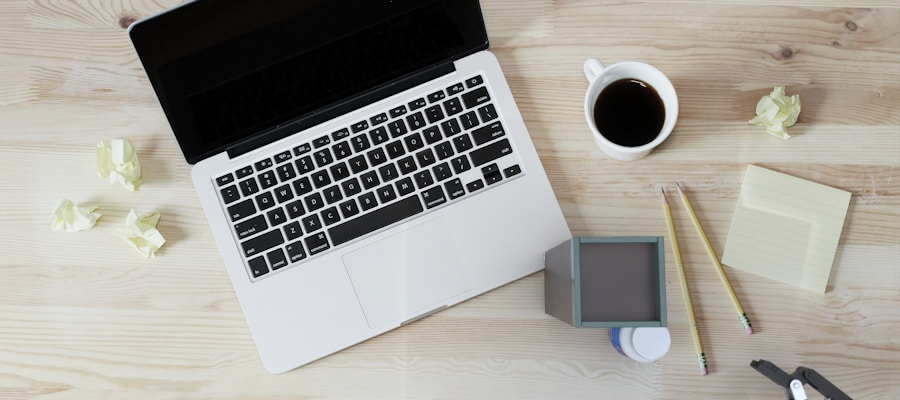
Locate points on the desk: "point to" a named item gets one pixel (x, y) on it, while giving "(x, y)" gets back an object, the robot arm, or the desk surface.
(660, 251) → the socket
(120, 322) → the desk surface
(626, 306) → the stand
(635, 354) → the pill bottle
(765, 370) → the robot arm
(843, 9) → the desk surface
